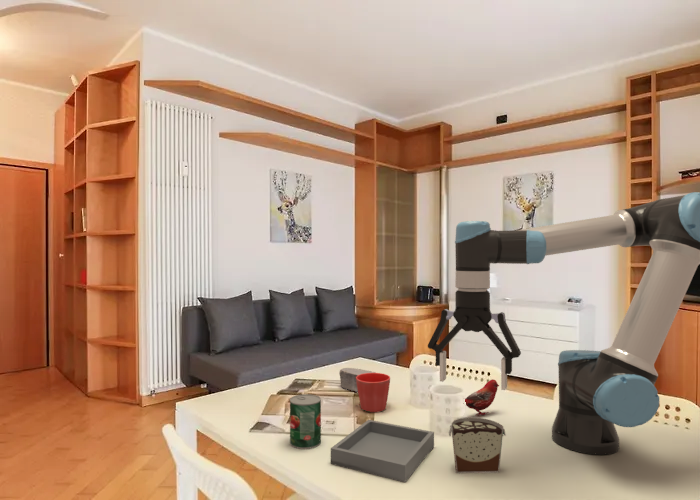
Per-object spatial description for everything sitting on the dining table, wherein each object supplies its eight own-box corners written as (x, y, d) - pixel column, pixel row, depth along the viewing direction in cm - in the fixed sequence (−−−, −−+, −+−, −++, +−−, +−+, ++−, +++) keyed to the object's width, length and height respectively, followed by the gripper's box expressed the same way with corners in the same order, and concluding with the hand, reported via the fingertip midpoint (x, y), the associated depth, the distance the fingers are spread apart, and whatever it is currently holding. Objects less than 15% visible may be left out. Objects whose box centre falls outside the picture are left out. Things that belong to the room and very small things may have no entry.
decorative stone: (374, 397, 151) (382, 387, 160) (373, 376, 151) (382, 368, 160) (333, 392, 156) (344, 384, 165) (333, 373, 156) (344, 365, 165)
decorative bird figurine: (502, 413, 134) (502, 379, 135) (455, 422, 127) (455, 387, 127) (495, 410, 137) (495, 377, 137) (449, 419, 129) (449, 384, 130)
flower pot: (349, 411, 136) (349, 379, 137) (365, 400, 146) (365, 370, 146) (381, 416, 132) (381, 383, 132) (395, 405, 141) (395, 374, 141)
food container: (495, 459, 104) (495, 416, 104) (505, 472, 98) (505, 426, 98) (443, 460, 104) (442, 416, 104) (449, 473, 98) (449, 427, 98)
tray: (434, 446, 111) (434, 431, 111) (405, 482, 94) (405, 465, 94) (368, 432, 120) (368, 419, 120) (330, 463, 102) (330, 448, 102)
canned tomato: (327, 443, 113) (327, 399, 113) (301, 452, 108) (301, 406, 108) (308, 433, 119) (308, 392, 119) (283, 441, 114) (283, 398, 114)
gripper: (533, 290, 99) (533, 387, 99) (424, 286, 110) (424, 373, 110) (529, 293, 92) (530, 397, 92) (414, 288, 104) (414, 380, 104)
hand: (472, 384), depth 101 cm, fingers open, 13 cm apart
